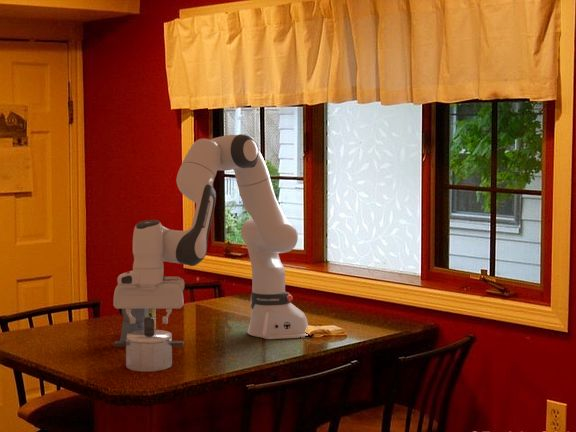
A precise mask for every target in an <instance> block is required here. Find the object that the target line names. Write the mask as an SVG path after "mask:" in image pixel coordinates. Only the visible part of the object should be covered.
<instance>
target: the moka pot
mask: <svg viewBox="0 0 576 432" xmlns="http://www.w3.org/2000/svg"><path fill="white" fill-rule="evenodd" d="M118 312H119V314H120V315H121V316H123V321H122V326H121V332H120V339H119V341H126V339H127V334H128V333H131V332H134V331H140V330H144V318H145V317H146V314H147V312H148V309H131V312H130V313H131V315H132V316H133V317H135V320H136V322H135V324H130V318H129V317H128V315H127V313H126V309H118Z"/></svg>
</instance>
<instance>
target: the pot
mask: <svg viewBox="0 0 576 432" xmlns="http://www.w3.org/2000/svg"><path fill="white" fill-rule="evenodd" d="M184 344H185V341H184V340H173V338H172V339H171V340H169V341H167V342H163V343H156V344H137V343H132V342H129V341H127V339H126V341H120V340H119V341H118V340H116V341H114V343H113V347H114V348H115V347H117V348H118V347H120V348H121V347H123V348H124V347H125V362H126V363H125V366H126V368H127V369H129V370H131V371H135V372H158V371H164V370H167V369H170V368H171V367H172V365H173V347H184Z"/></svg>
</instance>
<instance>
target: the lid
mask: <svg viewBox="0 0 576 432" xmlns="http://www.w3.org/2000/svg"><path fill="white" fill-rule="evenodd" d="M172 336H173V334H172V332H170V331H168V330H162V329H155V330H154V317H145V318H144V330H140V331H134V332H131V333H128V334H127V341H129V342H132V343H137V344H156V343H163V342H167V341H169V340H171V339H172V340H173V337H172Z"/></svg>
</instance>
